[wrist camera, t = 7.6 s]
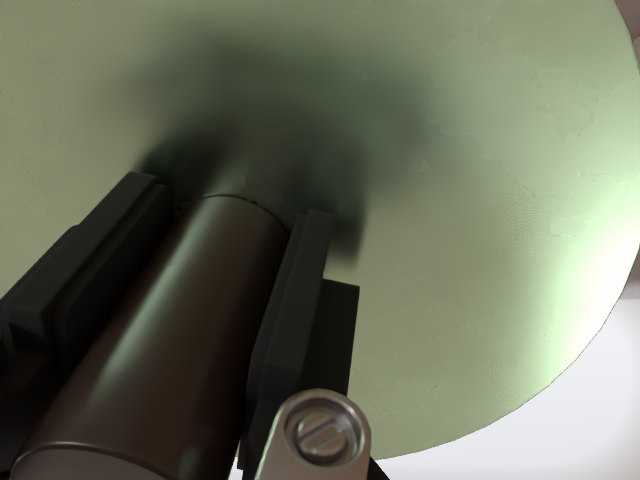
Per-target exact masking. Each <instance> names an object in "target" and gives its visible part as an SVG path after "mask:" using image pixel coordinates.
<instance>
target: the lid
mask: <svg viewBox="0 0 640 480" xmlns="http://www.w3.org/2000/svg"><path fill="white" fill-rule="evenodd" d="M130 171H135V172H139V173H144V174H149V175H153V176H158V177H159V178H160V179H161V182H162V185H166V186H168V187H169V192H170V228H169V230H168V231H167V233H166V234H165V236H164V237H163V239H162V240H161V242H160V243H159V245H158V246H157V248H156V249H155V251H154V252H153V253H152V255H151V256H150V258H149V259H148V261H147V262H146V264H145V265H144V267H143V268H142V270H141V271H140V273H139V274H138V276H137V277H136V278H135V280H134V281H133V283H132V284H131V286H130V287H129V289H128V290H127V292H126V293H125V295H124V296H123V298H122V299H121V301H120V302H119V303H118V305H117V306H116V308H115V309H114V311H113V312H112V314H111V315H110V317H109V318H108V320H107V321H106V323H105V324H104V326H103V327H102V328H101V330H100V331H99V333H98V334H97V336H96V337H95V339H94V340H93V342H92V343H91V345H90V346H89V348H88V349H87V351H86V352H85V353H84V355H83V356H82V358H81V359H80V361H79V362H78V364H77V365H76V367H75V368H74V370H73V371H72V373H71V374H70V376H69V377H68V378H67V380H66V381H65V383H64V384H63V386H62V387H61V389H60V390H59V392H58V393H57V395H56V396H55V398H54V399H53V401H52V402H51V403H50V405H49V406H48V408H47V409H46V411H45V412H44V414H43V415H42V417H41V418H40V420H39V421H38V423H37V424H36V426H35V427H34V428H33V430H32V431H31V433H30V434H29V436H28V437H27V439H26V440H25V442H24V443H23V445H22V446H21V448H20V449H19V451H18V452H17V454H16V455H15V457H14V458H13V460H12V464H11V468H10V479H11V480H228V479H229V476H230V472H231V469H232V466H233V462H234V459H235V457H238V453H239V445H240V439H241V436H242V432H243V429H244V425H245V416H244V404H245V396H246V388H247V380H248V372H249V366H250V361H251V356H252V352H253V349H254V345H255V342H256V339H257V336H258V333H259V330H260V327H261V324H262V321H263V318H264V315H265V312H266V309H267V306H268V303H269V300H270V297H271V294H272V290H273V287H274V284H275V281H276V278H277V275H278V272H279V269H280V266H281V263H282V260H283V257H284V254H285V251H286V248H287V245H288V242H289V239H290V236H291V233H292V230H293V227H294V224H295V221H296V218H297V215H298V214H300V215H305V216H308V214H309V211H310V209H311V210H316V211H320V212H325V213H329V214H334V215H336V218H335V223H334V227H333V232H332V236H331V241H330V246H329V250H328V255H327V260H326V264H325V269H324V273H323V278H325V279H329V280H334V281H338V282H343V283H348V284H352V285H357V286H360V294H359V303H358V311H357V319H356V327H355V336H354V344H353V352H352V360H351V369H350V377H349V385H348V394H347V398H349V399H350V400H351V401H353V402H354V403H355V404H357V405H358V407H359V408H360V409H361V411H362V412H363V413H364V415H365V416H366V418H367V420H368V423H369V426H370V428H371V443H372V444H371V451H370V456H371V457H372V458H373V459H374V460H380V459H388V458H392V457H397V456H401V455H406V454H410V453H415V452H420V451H423V450H426V449H429V448H432V447H436V446H439V445H442V444H445V443H448V442H451V441H454V440H456V439H459V438H461V437H463V436H466V435H468V434H470V433H473V432H475V431H477V430H479V429H482V428H484V427H486V426H488V425H490V424H492V423H493V422H495V421H497V420H499V419H500V418H502V417H504V416H505V415H507V414H509V413H511V412H513V411H514V410H516V409H518V408H519V407H521V406H522V405H523V404H525V403H526V402H527V401H529V400H530V399H532V398H533V397H534V396H536V395H537V394H538V393H540V392H541V391H542V390H544V389H545V388H546V387H548V386H549V385H550V384H551V383H552V382H553V381H554V380H555V379H556V378H557V377H558V376H559V375H561V374H562V373H563V371H565V370H566V369H567V368H568V367H569V366H570V365H571V364H572V363H573V362H574V361H575V360H576V359H577V358H578V357H579V355H580V354H581V353H582V351H583V350H584V349H585V348H586V347H587V345H588V344H589V343H590V342H591V340H592V339H593V338H594V337H595V336H596V334H597V333H598V332H599V330H600V329H601V328H602V326H603V324H604V323H605V321H606V319H607V318H608V316H609V314H610V313H611V311H612V309H613V308H614V306H615V304H616V302H617V301H618V299H619V297H620V296H621V294H622V292H623V290H624V288H625V285H626V283H627V280H628V278H629V275H630V273H631V270H632V268H633V265H634V263H635V260H636V257H637V255H638V252H639V250H640V65H639V62H638V58H637V55H636V51H635V48H634V44H633V41H632V38H631V34H630V31H629V28H628V26H627V24H626V22H625V20H624V18H623V15H622V13H621V11H620V9H619V7H618V5H617V3H616V1H615V0H0V299H1V298H2V297H3V296H4V295H5V294H6V293H7V292H8V291H9V290H10V289H11V288H12V287H13V286H14V284H15V283H16V282H17V281H18V280H19V279H20V278H21V277H22V276H23V275H24V274H25V273H26V272H27V271H28V270H29V269H30V268H31V267H32V266H33V265H34V264H35V263H36V262H37V261H38V260H39V259H40V258H41V257H42V255H43V254H44V253H45V252H46V251H47V250H48V249H49V248H50V247H51V246H52V245H53V244H54V243H55V242H56V241H57V240H58V239H59V238H60V237H61V236H62V235H63V234H64V233H65V232H66V231H67V230H68V229H69V228H70V227H72V226H74V225H79V223H80V222H81V221H82V220H83V219H84V218H85V217H86V216H87V215H88V214H89V213H90V212H91V211H92V210H93V209H94V208H95V207H96V206H97V204H98V203H99V202H100V201H101V200H102V199H103V198H104V197H105V196H106V195H107V194H108V193H109V192H110V191H111V190H112V189H113V188H114V187H115V186H116V184H117V183H118V182H119V181H120V180H121V179H122V178H123V177H124V176H125V175H126V174H127V173H128V172H130Z"/></svg>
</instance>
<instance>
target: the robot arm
mask: <svg viewBox="0 0 640 480" xmlns="http://www.w3.org/2000/svg"><path fill="white" fill-rule="evenodd" d="M335 218H336V215H334V214H329V213H325V212H320V211H316V210H311V209H310V211H309V214H308V216H305V215H300V214H298V215H297V218H296V221H295V224H294V227H293V230H292V233H291V236H290V239H289V242H288V245H287V248H286V251H285V254H284V257H283V260H282V263H281V266H280V269H279V272H278V275H277V278H276V281H275V284H274V287H273V290H272V294H271V297H270V300H269V303H268V306H267V309H266V312H265V315H264V318H263V321H262V324H261V327H260V330H259V333H258V336H257V339H256V342H255V345H254V349H253V352H252V356H251V361H250V366H249V372H248V380H247V388H246V396H245V404H244V416H245V425H244V429H243V432H242V436H241V439H240V445H239V453H238V462H237V469H241V470H243V476H242V480H390V479H389V478H388V477H387V476H386V474H385V473H384V472H383V471H382V469H381V468H380V467H379V466H378V464H377V463H376V462H375V461H374V459H373V458H372V457H371V456H370V451H371V444H372V443H371V428H370V426H369V423H368V420H367V418H366V416H365V415H364V413H363V412H362V411H361V409H360V408H359V407H358V405H357V404H355V403H354V402H353V401H351V400H350V399H349V398H347V394H348V385H349V377H350V369H351V360H352V352H353V344H354V336H355V327H356V319H357V311H358V303H359V294H360V286H357V285H352V284H348V283H343V282H338V281H334V280H329V279H325V278H323V273H324V269H325V264H326V260H327V255H328V250H329V246H330V241H331V236H332V232H333V227H334V223H335ZM169 228H170V192H169V187H168V186H166V185H162V182H161V179H160V178H159V177H158V176H153V175H149V174H144V173H139V172H135V171H130V172H128V173H127V174H126V175H125V176H124V177H123V178H122V179H121V180H120V181H119V182H118V183H117V184H116V186H115V187H114V188H113V189H112V190H111V191H110V192H109V193H108V194H107V195H106V196H105V197H104V198H103V199H102V200H101V201H100V202H99V203H98V204H97V206H96V207H95V208H94V209H93V210H92V211H91V212H90V213H89V214H88V215H87V216H86V217H85V218H84V219H83V220H82V221H81V222H80V223H79V225H74V226H72V227H70V228H69V229H68V230H67V231H66V232H65V233H64V234H63V235H62V236H61V237H60V238H59V239H58V240H57V241H56V242H55V243H54V244H53V245H52V246H51V247H50V248H49V249H48V250H47V251H46V252H45V253H44V254H43V255H42V257H41V258H40V259H39V260H38V261H37V262H36V263H35V264H34V265H33V266H32V267H31V268H30V269H29V270H28V271H27V272H26V273H25V274H24V275H23V276H22V277H21V278H20V279H19V280H18V281H17V282H16V283H15V284H14V286H13V287H12V288H11V289H10V290H9V291H8V292H7V293H6V294H5V295H4V296H3V297H2V298H1V299H0V480H11V479H10V468H11V464H12V460H13V458H14V457H15V455H16V454H17V452H18V451H19V449H20V448H21V446H22V445H23V443H24V442H25V440H26V439H27V437H28V436H29V434H30V433H31V431H32V430H33V428H34V427H35V426H36V424H37V423H38V421H39V420H40V418H41V417H42V415H43V414H44V412H45V411H46V409H47V408H48V406H49V405H50V403H51V402H52V401H53V399H54V398H55V396H56V395H57V393H58V392H59V390H60V389H61V387H62V386H63V384H64V383H65V381H66V380H67V378H68V377H69V376H70V374H71V373H72V371H73V370H74V368H75V367H76V365H77V364H78V362H79V361H80V359H81V358H82V356H83V355H84V353H85V352H86V351H87V349H88V348H89V346H90V345H91V343H92V342H93V340H94V339H95V337H96V336H97V334H98V333H99V331H100V330H101V328H102V327H103V326H104V324H105V323H106V321H107V320H108V318H109V317H110V315H111V314H112V312H113V311H114V309H115V308H116V306H117V305H118V303H119V302H120V301H121V299H122V298H123V296H124V295H125V293H126V292H127V290H128V289H129V287H130V286H131V284H132V283H133V281H134V280H135V278H136V277H137V276H138V274H139V273H140V271H141V270H142V268H143V267H144V265H145V264H146V262H147V261H148V259H149V258H150V256H151V255H152V253H153V252H154V251H155V249H156V248H157V246H158V245H159V243H160V242H161V240H162V239H163V237H164V236H165V234H166V233H167V231H168V230H169Z"/></svg>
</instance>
